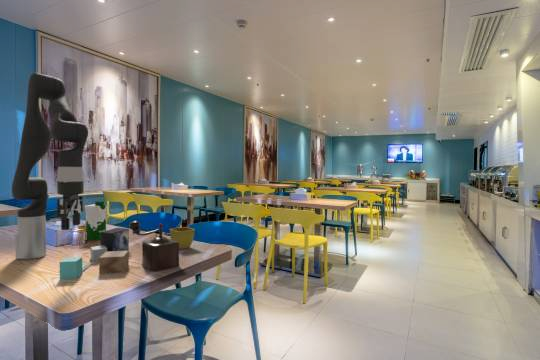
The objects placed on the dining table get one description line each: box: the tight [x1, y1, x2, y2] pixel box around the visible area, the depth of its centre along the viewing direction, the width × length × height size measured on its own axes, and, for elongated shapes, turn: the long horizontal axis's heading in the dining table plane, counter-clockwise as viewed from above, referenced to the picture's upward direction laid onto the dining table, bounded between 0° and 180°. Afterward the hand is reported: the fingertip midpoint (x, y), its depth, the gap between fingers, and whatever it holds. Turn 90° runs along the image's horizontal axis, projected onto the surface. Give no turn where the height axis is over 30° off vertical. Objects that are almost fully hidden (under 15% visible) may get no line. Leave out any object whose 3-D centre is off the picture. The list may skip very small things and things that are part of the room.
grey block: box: [90, 245, 107, 263], centre depth 124 cm, size 5×5×6 cm
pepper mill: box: [128, 220, 180, 273], centre depth 115 cm, size 16×11×18 cm
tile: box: [58, 263, 93, 273], centre depth 113 cm, size 8×8×1 cm
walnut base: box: [98, 251, 130, 275], centre depth 112 cm, size 8×8×6 cm
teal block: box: [59, 256, 83, 280], centre depth 104 cm, size 5×5×6 cm
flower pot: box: [169, 226, 196, 250], centre depth 144 cm, size 9×9×9 cm
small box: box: [100, 227, 130, 252], centre depth 133 cm, size 11×6×10 cm, turn 168°
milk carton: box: [83, 200, 108, 241], centre depth 160 cm, size 9×9×20 cm
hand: (71, 227), depth 104 cm, fingers open, 8 cm apart
